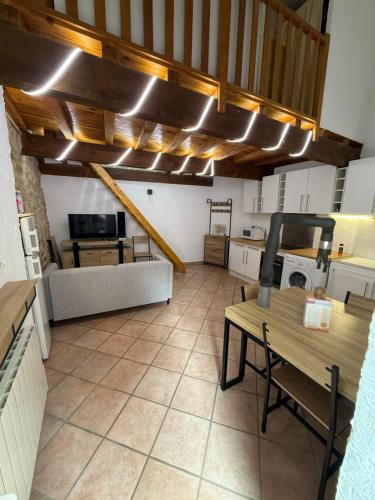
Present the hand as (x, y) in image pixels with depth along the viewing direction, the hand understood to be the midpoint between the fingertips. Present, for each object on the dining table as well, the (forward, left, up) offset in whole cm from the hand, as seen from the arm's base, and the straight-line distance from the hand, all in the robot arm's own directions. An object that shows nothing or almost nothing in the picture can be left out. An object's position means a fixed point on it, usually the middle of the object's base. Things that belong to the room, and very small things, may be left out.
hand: (321, 270), depth 138 cm
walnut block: (-5, -13, -15) cm, 20 cm away
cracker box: (-5, -13, -36) cm, 39 cm away
